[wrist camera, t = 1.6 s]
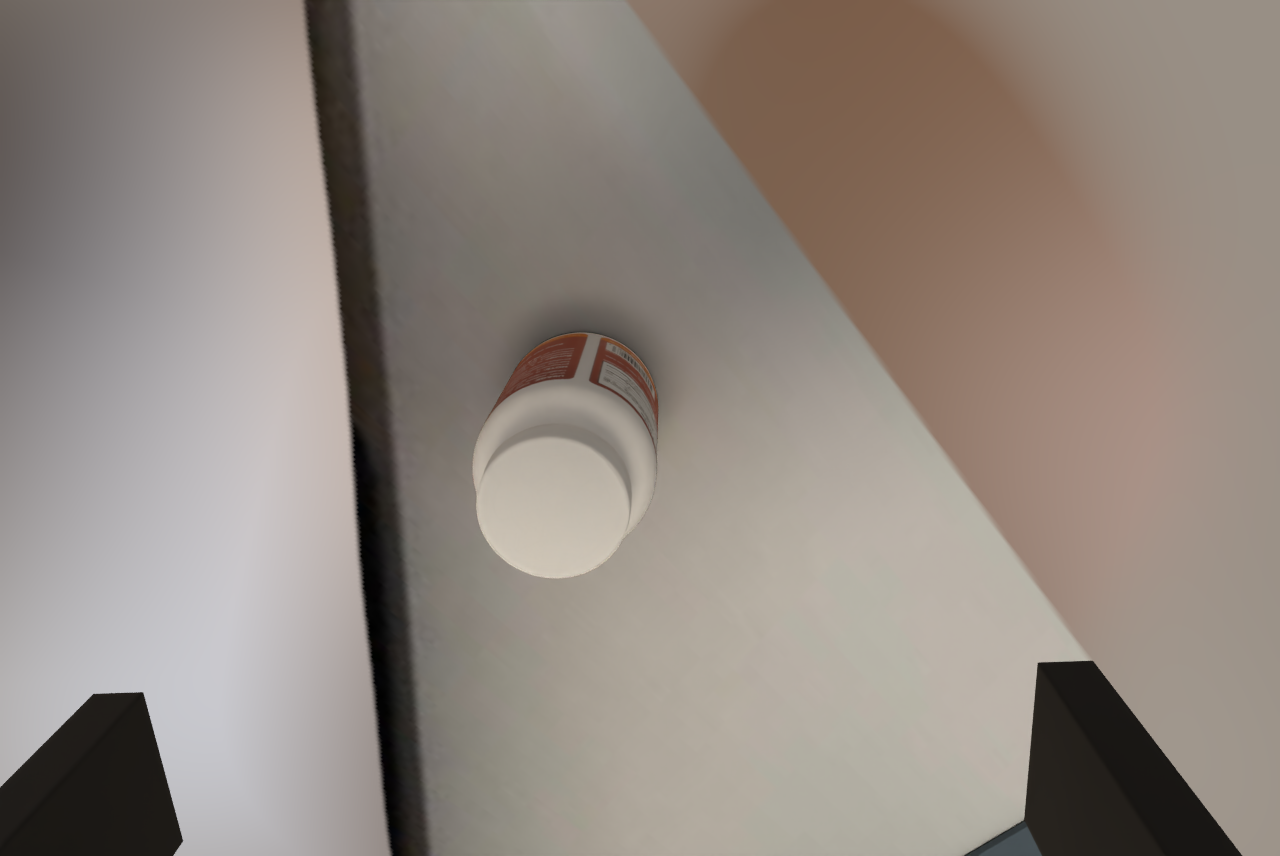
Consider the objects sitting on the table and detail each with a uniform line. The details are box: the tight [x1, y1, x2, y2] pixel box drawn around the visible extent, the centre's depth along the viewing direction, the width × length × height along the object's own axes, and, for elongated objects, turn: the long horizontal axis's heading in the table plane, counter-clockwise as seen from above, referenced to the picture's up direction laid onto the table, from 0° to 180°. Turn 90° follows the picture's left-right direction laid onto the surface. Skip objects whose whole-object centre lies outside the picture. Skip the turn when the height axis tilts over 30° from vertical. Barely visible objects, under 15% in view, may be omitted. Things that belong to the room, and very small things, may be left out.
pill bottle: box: [473, 332, 658, 578], centre depth 33 cm, size 6×6×11 cm
